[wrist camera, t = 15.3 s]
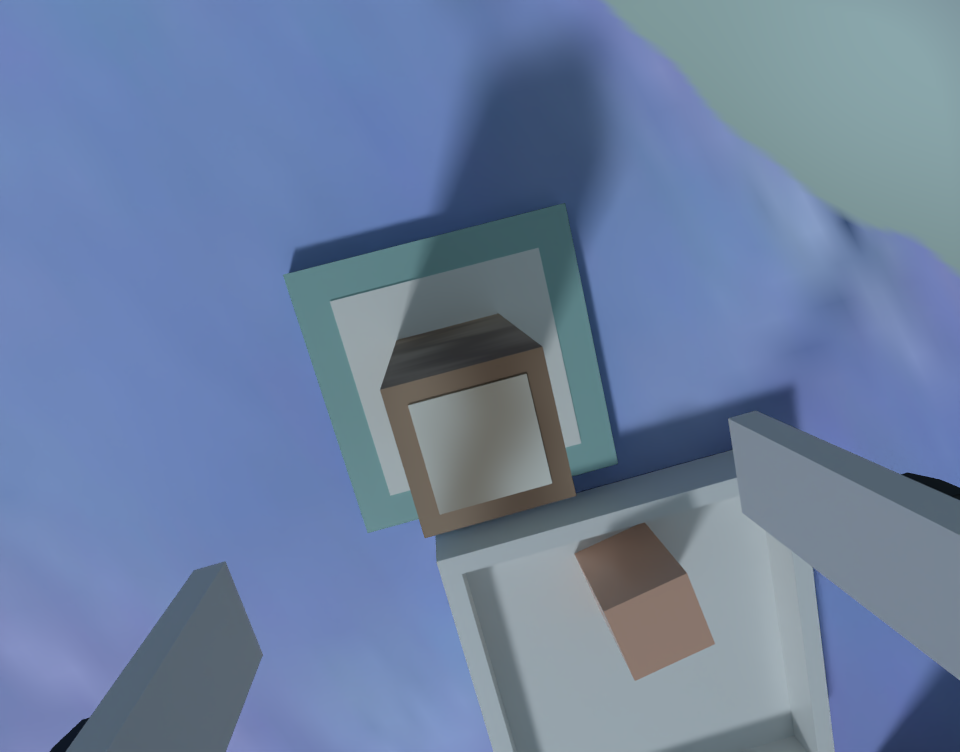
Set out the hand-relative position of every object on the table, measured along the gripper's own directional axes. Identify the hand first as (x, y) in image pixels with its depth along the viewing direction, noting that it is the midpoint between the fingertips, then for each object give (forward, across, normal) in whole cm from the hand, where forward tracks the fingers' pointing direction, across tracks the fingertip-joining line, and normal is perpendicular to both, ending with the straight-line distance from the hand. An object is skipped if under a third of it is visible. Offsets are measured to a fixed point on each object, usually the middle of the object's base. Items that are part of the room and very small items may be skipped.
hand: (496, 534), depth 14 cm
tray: (+20, +8, -22) cm, 31 cm away
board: (+20, +1, 0) cm, 20 cm away
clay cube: (+19, +8, -16) cm, 26 cm away
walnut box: (+18, +1, 0) cm, 19 cm away
